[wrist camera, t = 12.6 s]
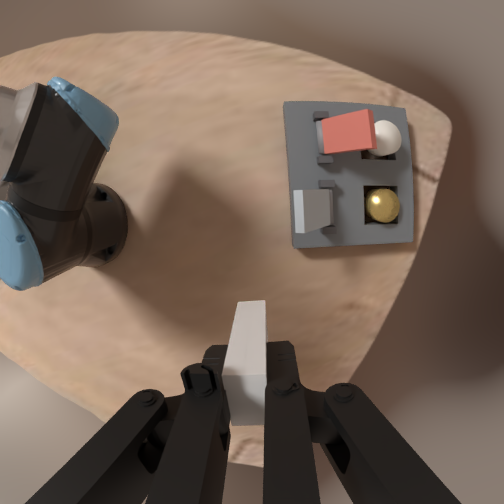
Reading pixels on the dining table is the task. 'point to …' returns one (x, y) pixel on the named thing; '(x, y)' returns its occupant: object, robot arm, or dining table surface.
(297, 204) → the paddle grey
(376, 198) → the button brass
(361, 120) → the paddle red
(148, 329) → the dining table surface
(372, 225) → the panel
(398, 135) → the button white
